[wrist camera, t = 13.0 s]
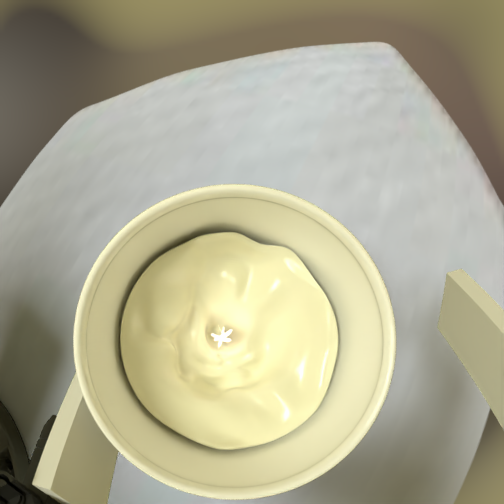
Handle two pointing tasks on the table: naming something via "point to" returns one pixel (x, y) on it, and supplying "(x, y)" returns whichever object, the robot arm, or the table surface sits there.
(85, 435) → the robot arm
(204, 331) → the candle holder
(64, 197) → the table surface
